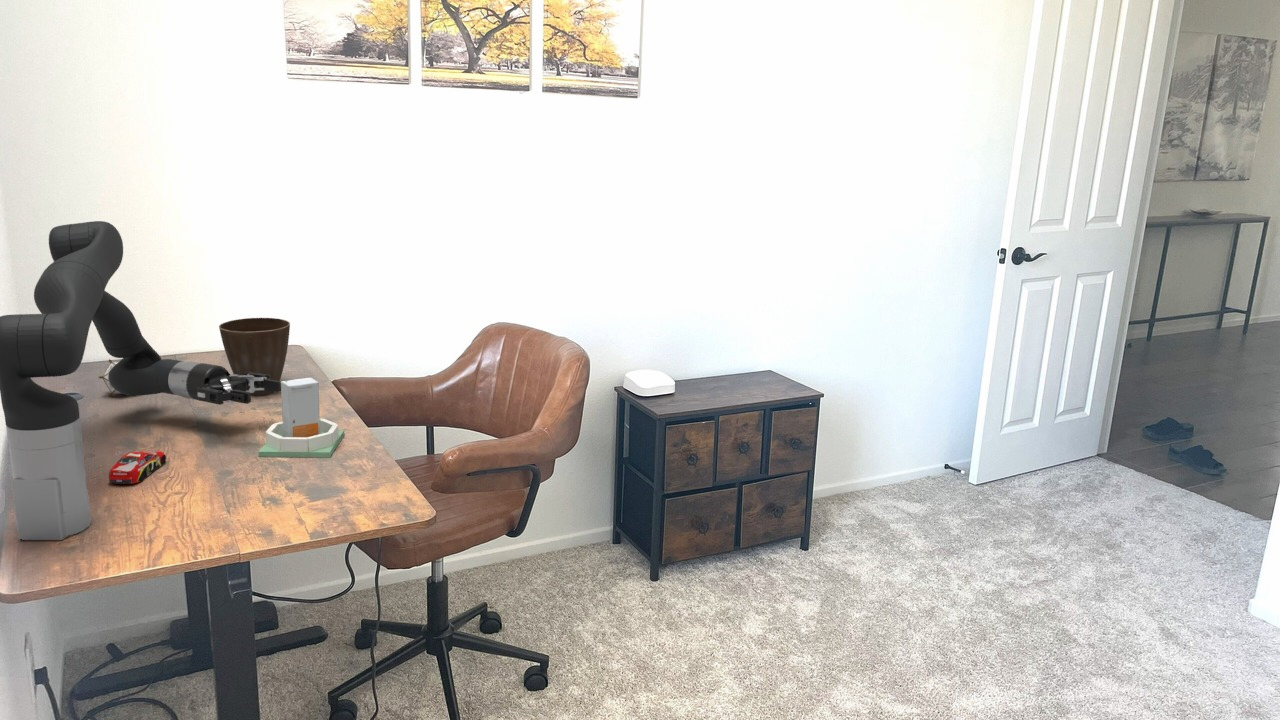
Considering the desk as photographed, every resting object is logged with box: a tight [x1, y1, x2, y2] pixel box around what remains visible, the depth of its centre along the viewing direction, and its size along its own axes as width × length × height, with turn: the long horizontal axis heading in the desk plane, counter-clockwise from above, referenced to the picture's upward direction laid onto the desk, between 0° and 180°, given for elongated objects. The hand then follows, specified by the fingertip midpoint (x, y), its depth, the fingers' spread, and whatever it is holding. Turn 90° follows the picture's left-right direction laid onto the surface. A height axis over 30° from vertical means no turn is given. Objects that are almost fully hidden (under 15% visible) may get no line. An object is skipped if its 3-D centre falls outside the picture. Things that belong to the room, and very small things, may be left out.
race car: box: [108, 449, 167, 485], centre depth 161 cm, size 13×5×4 cm, turn 2°
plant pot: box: [218, 317, 291, 396], centre depth 209 cm, size 15×15×16 cm
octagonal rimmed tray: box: [258, 418, 345, 458], centre depth 178 cm, size 13×13×4 cm
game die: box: [98, 358, 122, 398], centre depth 204 cm, size 9×8×10 cm
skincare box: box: [280, 377, 321, 437], centre depth 177 cm, size 6×4×12 cm
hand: (265, 392), depth 179 cm, fingers open, 8 cm apart
